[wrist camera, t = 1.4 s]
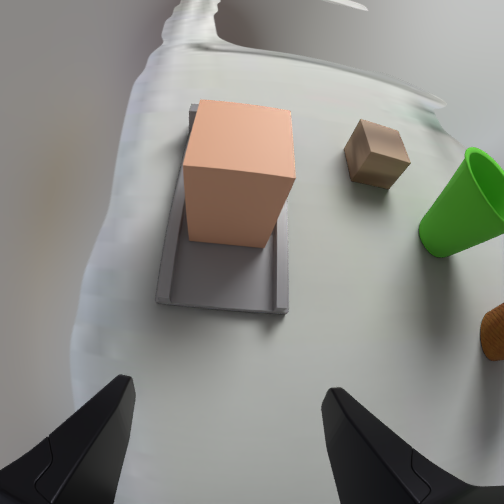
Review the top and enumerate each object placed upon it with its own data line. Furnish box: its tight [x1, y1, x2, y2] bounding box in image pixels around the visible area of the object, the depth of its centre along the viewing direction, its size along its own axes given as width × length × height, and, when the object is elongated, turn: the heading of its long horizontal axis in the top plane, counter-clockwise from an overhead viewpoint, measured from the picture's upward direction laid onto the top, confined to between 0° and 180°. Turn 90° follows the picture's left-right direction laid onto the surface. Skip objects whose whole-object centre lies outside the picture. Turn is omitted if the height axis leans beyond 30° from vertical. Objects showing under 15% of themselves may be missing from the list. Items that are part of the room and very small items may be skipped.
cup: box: [419, 147, 504, 258], centre depth 23 cm, size 9×9×11 cm
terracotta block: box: [183, 100, 296, 248], centre depth 20 cm, size 6×6×9 cm
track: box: [155, 104, 292, 314], centre depth 24 cm, size 20×10×4 cm, turn 178°
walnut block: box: [344, 119, 411, 189], centre depth 28 cm, size 5×5×5 cm
